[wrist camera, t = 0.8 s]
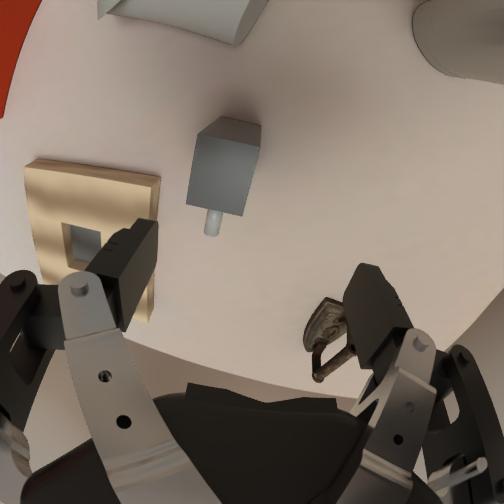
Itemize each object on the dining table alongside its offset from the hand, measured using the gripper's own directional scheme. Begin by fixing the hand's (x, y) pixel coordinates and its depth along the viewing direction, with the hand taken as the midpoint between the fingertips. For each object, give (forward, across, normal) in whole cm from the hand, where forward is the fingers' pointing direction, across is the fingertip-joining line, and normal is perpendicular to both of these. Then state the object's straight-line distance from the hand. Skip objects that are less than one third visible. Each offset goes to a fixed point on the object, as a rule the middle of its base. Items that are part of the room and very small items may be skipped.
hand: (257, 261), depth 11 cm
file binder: (+19, +36, -11) cm, 42 cm away
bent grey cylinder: (+19, +12, -20) cm, 30 cm away
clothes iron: (+19, -15, +22) cm, 33 cm away
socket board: (+19, +19, +14) cm, 30 cm away
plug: (+19, +2, +1) cm, 19 cm away
